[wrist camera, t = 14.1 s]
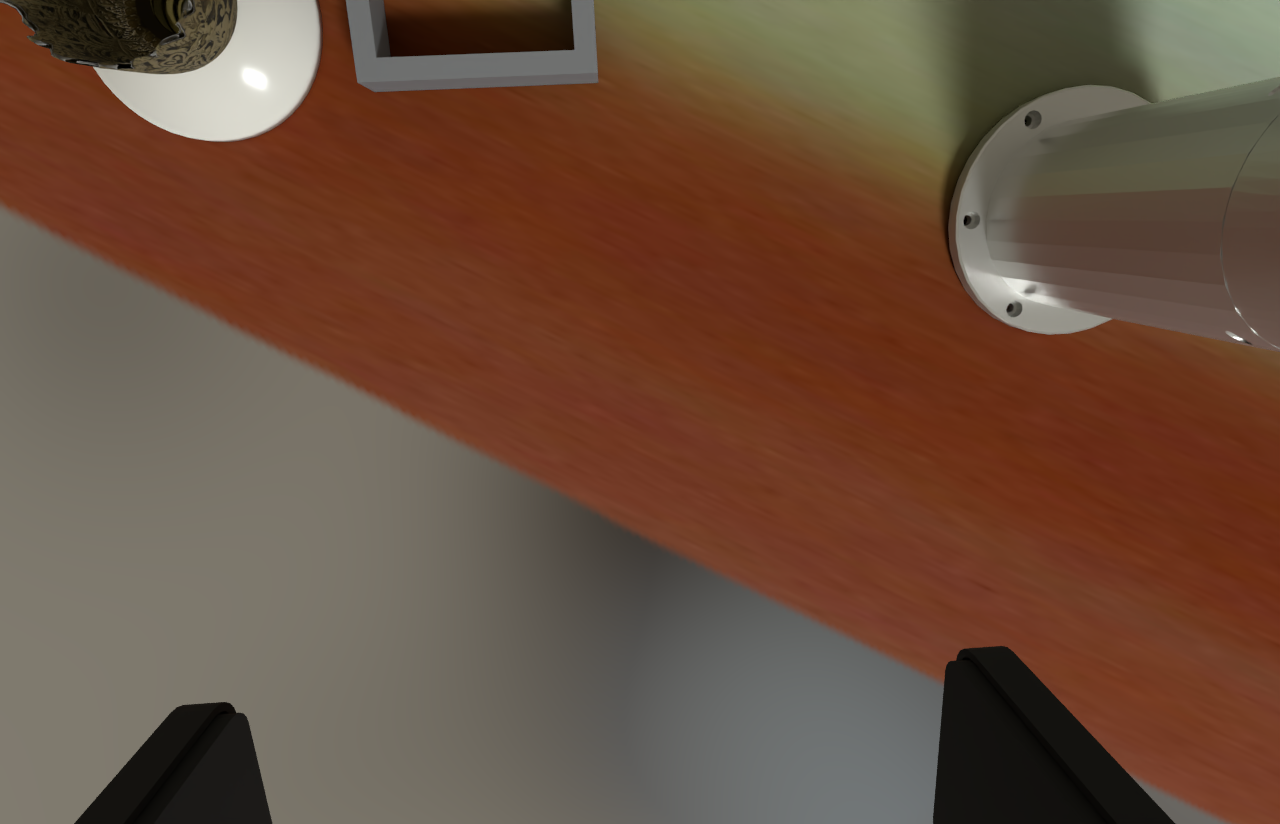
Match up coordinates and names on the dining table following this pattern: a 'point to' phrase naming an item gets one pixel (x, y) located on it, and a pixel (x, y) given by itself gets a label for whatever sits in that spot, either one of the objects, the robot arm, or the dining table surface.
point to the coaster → (235, 76)
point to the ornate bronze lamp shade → (131, 32)
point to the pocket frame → (467, 58)
